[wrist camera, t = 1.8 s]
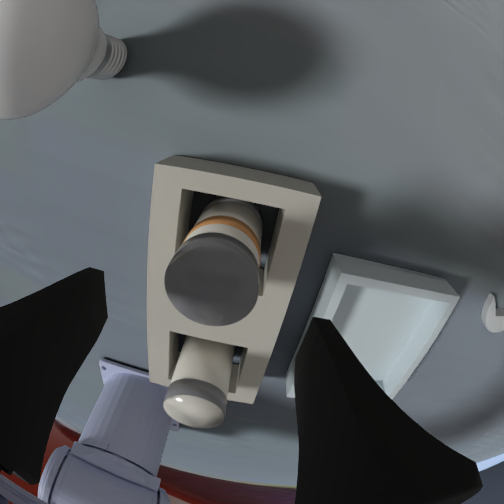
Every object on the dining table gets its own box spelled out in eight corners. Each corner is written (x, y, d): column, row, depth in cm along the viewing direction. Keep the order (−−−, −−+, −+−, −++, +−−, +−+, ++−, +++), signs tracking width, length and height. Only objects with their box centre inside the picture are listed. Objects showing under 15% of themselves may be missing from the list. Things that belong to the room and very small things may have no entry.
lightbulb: (93, 10, 12) (-35, -29, 2) (178, 21, 12) (66, -64, 3) (60, 99, 14) (-80, 121, 5) (138, 120, 15) (-11, 149, 5)
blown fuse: (255, 258, 19) (248, 333, 12) (197, 246, 18) (162, 315, 12) (269, 201, 17) (268, 257, 11) (205, 188, 17) (167, 235, 11)
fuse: (232, 357, 23) (220, 432, 16) (186, 348, 22) (163, 420, 16) (240, 323, 21) (229, 402, 15) (189, 312, 21) (162, 387, 14)
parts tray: (382, 382, 23) (388, 403, 21) (285, 373, 23) (286, 396, 21) (444, 278, 18) (460, 297, 16) (333, 252, 18) (341, 272, 16)
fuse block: (254, 375, 23) (252, 404, 21) (160, 355, 23) (149, 381, 20) (312, 182, 16) (321, 196, 14) (173, 154, 16) (154, 163, 13)
